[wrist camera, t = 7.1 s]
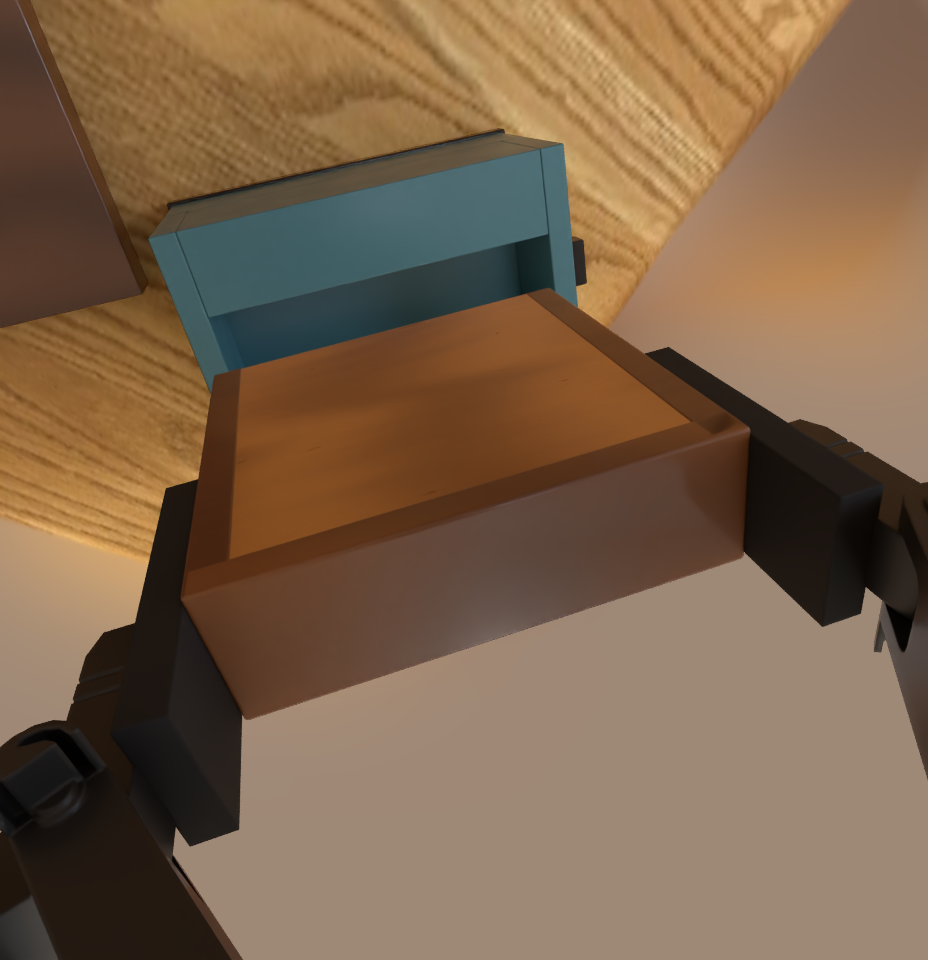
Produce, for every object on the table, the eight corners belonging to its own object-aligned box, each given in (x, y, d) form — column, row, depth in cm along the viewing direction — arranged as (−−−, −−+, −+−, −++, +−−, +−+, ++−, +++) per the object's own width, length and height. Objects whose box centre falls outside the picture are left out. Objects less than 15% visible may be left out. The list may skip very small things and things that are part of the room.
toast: (250, 465, 21) (244, 723, 12) (213, 374, 19) (178, 600, 11) (559, 378, 22) (745, 559, 14) (549, 286, 20) (753, 426, 12)
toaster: (246, 407, 38) (242, 486, 30) (168, 201, 32) (139, 235, 24) (542, 328, 40) (609, 384, 32) (518, 123, 34) (592, 132, 27)
